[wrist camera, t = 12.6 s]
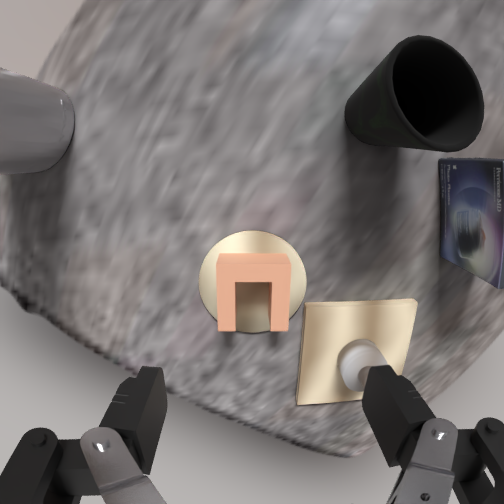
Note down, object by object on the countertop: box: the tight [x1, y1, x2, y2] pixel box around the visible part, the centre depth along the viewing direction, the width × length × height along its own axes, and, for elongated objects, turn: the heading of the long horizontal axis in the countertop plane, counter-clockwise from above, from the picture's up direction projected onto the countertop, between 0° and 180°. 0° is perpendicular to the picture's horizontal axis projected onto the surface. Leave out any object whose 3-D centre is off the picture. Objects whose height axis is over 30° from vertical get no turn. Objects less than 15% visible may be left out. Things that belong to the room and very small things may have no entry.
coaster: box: [199, 230, 306, 333], centre depth 30 cm, size 10×10×1 cm
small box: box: [439, 158, 504, 289], centre depth 24 cm, size 11×6×10 cm, turn 7°
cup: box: [345, 35, 484, 152], centre depth 21 cm, size 8×8×12 cm
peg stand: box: [296, 298, 418, 405], centre depth 27 cm, size 12×12×11 cm
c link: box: [216, 253, 291, 331], centre depth 28 cm, size 6×6×4 cm
